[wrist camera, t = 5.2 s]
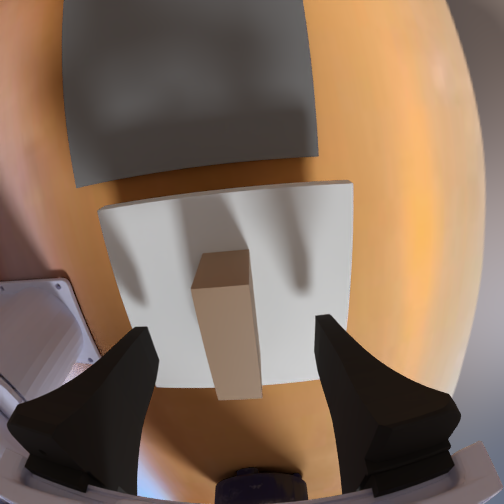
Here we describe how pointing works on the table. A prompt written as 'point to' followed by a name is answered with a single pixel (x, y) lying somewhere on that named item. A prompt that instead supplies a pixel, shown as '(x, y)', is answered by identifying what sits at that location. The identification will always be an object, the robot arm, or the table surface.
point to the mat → (184, 85)
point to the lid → (234, 280)
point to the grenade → (260, 488)
